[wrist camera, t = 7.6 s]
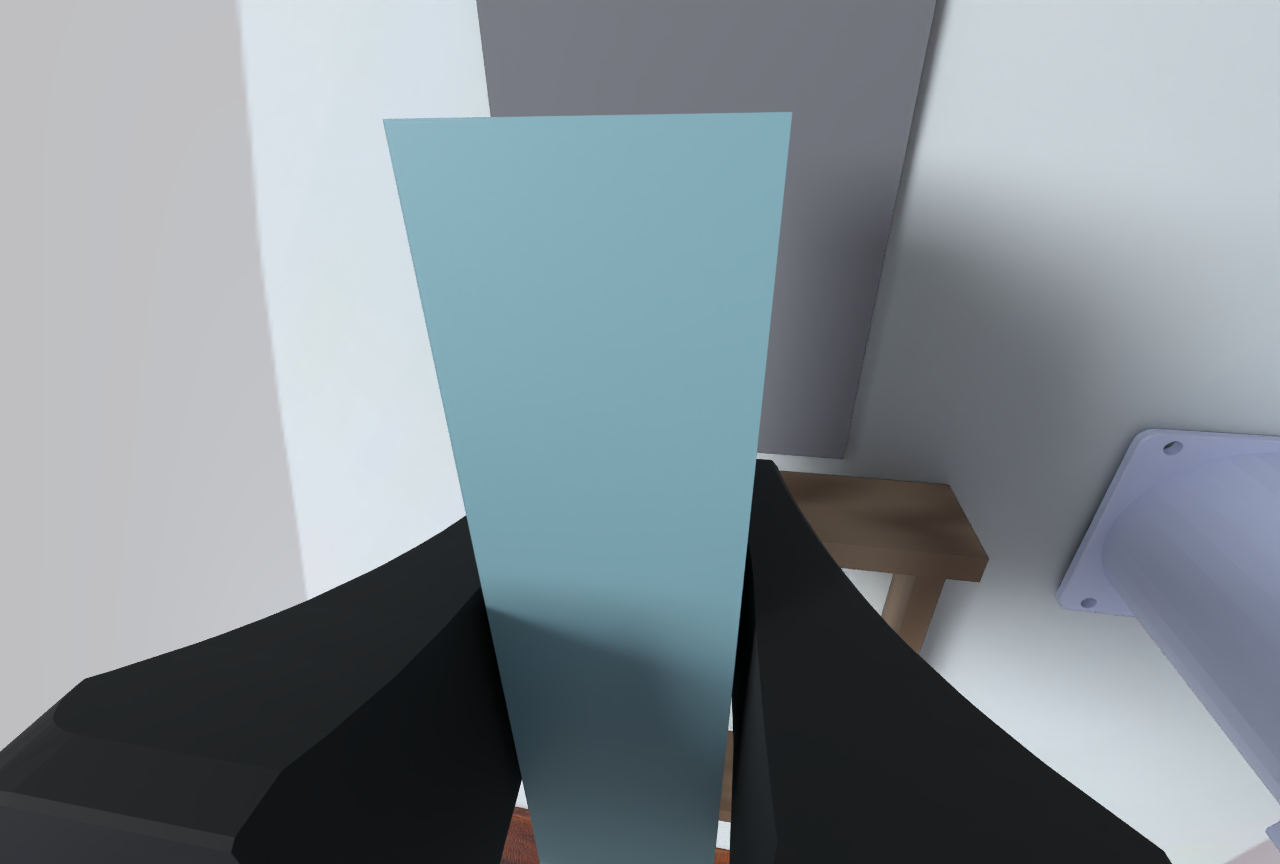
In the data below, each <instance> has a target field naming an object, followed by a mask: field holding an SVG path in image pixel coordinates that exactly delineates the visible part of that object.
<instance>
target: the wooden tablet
mask: <svg viewBox="0 0 1280 864" xmlns="http://www.w3.org/2000/svg"><path fill="white" fill-rule="evenodd" d="M729 858H730V850H725V849H720V848H716V849H715V859H714V864H729ZM500 864H540V861H539V856H538V852H537V847H536V842H535V838H534V833H533V828H532V823H531V819H530V814H529V810H528V809H523V808H519V807H514V811H513V815H512V819H511V823H510V826H509V830H508V834H507V838H506V842H505V846H504V850H503V854H502V858H501V862H500Z"/></svg>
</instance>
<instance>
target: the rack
mask: <svg viewBox="0 0 1280 864" xmlns="http://www.w3.org/2000/svg"><path fill="white" fill-rule="evenodd" d="M779 472H780V474H781V476H782V478H783V480H784V482H785V484H786V486H787V488H788V489H789V491H790V493H791V495H792V497H793V498H794V500H795V502H796V503H797V505H798V507H799V509H800V510H801V512H802V513H803V515H804V517H805V518H806V520H807V521H808V523H809V524H810V526H811V527H812V529H813V530H814V532H815V533H816V535H817V536H818V538H819V539H820V541H821V542H822V544H823V545H824V546H825V548H826V549H827V551H828V552H829V553H830V555H831V556H832V558H833V559H834V560H835V562H836V563H837V564H838V565H839V567H840V568H848V569H858V570H867V571H877V572H886V573H894V575H893V578H892V582H891V585H890V588H889V592H888V595H887V599H886V602H885V606H884V609H883V612H882V616H881V617H882V618H883V619H884V620H885V621H886V622H887V624H888V625H889V626H890V627H891V628H892V629H893V630H894V631H895V632H896V633H897V634H898V635H899V636H900V637H901V638H902V639H903V640H904V641H905V642H906V643H907V644H908V645H909V646H910V647H911V648H912V649H913V650H914V651H915V652H916V653H917V654H918V655H919V652H920V649H921V646H922V644H923V641H924V638H925V635H926V632H927V630H928V627H929V624H930V621H931V618H932V616H933V613H934V610H935V607H936V604H937V602H938V599H939V596H940V593H941V590H942V588H943V585H944V582H945V579H952V580H962V581H971V582H980V580H981V577H982V575H983V572H984V570H985V567H986V565H987V562H988V560H989V558H988V556H987V554H986V552H985V551H984V549H983V547H982V545H981V543H980V541H979V539H978V538H977V536H976V534H975V532H974V530H973V528H972V526H971V525H970V523H969V521H968V519H967V517H966V515H965V514H964V512H963V510H962V508H961V506H960V504H959V502H958V501H957V499H956V497H955V495H954V493H953V491H952V489H951V488H950V486H949V485H945V484H932V483H920V482H908V481H896V480H884V479H872V478H860V477H847V476H835V475H823V474H811V473H799V472H787V471H779ZM732 769H733V732H730V731H728V734H727V744H726V753H725V763H724V773H723V782H722V792H721V801H720V811H719V820H720V821H725V822H731V800H732Z"/></svg>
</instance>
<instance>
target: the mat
mask: <svg viewBox="0 0 1280 864" xmlns="http://www.w3.org/2000/svg"><path fill="white" fill-rule="evenodd" d="M476 1H477V10H478V18H479V26H480V34H481V42H482V50H483V58H484V66H485V74H486V82H487V90H488V98H489V106H490V114H491V117H531V116H589V115H646V114H704V113H761V112H792V120H791V130H790V139H789V149H788V158H787V168H786V177H785V187H784V197H783V206H782V216H781V225H780V235H779V245H778V254H777V264H776V273H775V283H774V293H773V302H772V312H771V321H770V331H769V341H768V350H767V360H766V369H765V379H764V389H763V398H762V408H761V417H760V427H759V437H758V446H757V452H758V453H771V454H784V455H796V456H809V457H822V458H835V459H843V458H844V453H845V448H846V443H847V438H848V433H849V428H850V423H851V418H852V413H853V408H854V403H855V399H856V394H857V389H858V384H859V379H860V374H861V369H862V364H863V359H864V354H865V349H866V344H867V340H868V335H869V330H870V325H871V320H872V315H873V310H874V305H875V300H876V295H877V290H878V285H879V281H880V276H881V271H882V266H883V261H884V256H885V251H886V246H887V241H888V236H889V231H890V226H891V222H892V217H893V212H894V207H895V202H896V197H897V192H898V187H899V182H900V177H901V172H902V167H903V163H904V158H905V153H906V148H907V143H908V138H909V133H910V128H911V123H912V118H913V113H914V108H915V104H916V99H917V94H918V89H919V84H920V79H921V74H922V69H923V64H924V59H925V54H926V49H927V45H928V40H929V35H930V30H931V25H932V20H933V15H934V10H935V5H936V0H476Z"/></svg>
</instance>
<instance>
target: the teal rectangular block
mask: <svg viewBox="0 0 1280 864" xmlns="http://www.w3.org/2000/svg"><path fill="white" fill-rule="evenodd" d="M791 120H792V112H761V113H704V114H646V115H589V116H531V117H473V118H416V119H383V123H384V128H385V133H386V137H387V142H388V147H389V152H390V156H391V161H392V166H393V171H394V175H395V180H396V185H397V189H398V194H399V199H400V204H401V208H402V213H403V218H404V223H405V227H406V232H407V237H408V241H409V246H410V251H411V256H412V260H413V265H414V270H415V275H416V279H417V284H418V289H419V294H420V298H421V303H422V308H423V312H424V317H425V322H426V327H427V331H428V336H429V341H430V346H431V350H432V355H433V360H434V364H435V369H436V374H437V379H438V383H439V388H440V393H441V398H442V402H443V407H444V412H445V417H446V421H447V426H448V431H449V435H450V440H451V445H452V450H453V454H454V459H455V464H456V469H457V473H458V478H459V483H460V487H461V492H462V497H463V502H464V506H465V511H466V516H467V521H468V525H469V530H470V535H471V539H472V544H473V549H474V554H475V558H476V563H477V568H478V573H479V577H480V582H481V587H482V592H483V596H484V601H485V606H486V610H487V615H488V620H489V625H490V629H491V634H492V639H493V644H494V648H495V653H496V658H497V662H498V667H499V672H500V677H501V681H502V686H503V691H504V696H505V700H506V705H507V710H508V715H509V719H510V724H511V729H512V733H513V738H514V743H515V748H516V752H517V757H518V762H519V767H520V771H521V776H522V781H523V785H524V790H525V795H526V800H527V804H528V809H529V814H530V819H531V823H532V828H533V833H534V838H535V842H536V847H537V852H538V856H539V861H540V864H714V859H715V849H716V840H717V830H718V821H719V811H720V801H721V792H722V782H723V773H724V763H725V753H726V744H727V734H728V725H729V715H730V705H731V696H732V686H733V677H734V667H735V657H736V648H737V638H738V629H739V619H740V609H741V600H742V590H743V581H744V571H745V561H746V552H747V542H748V533H749V523H750V513H751V504H752V494H753V485H754V475H755V465H756V456H757V446H758V437H759V427H760V417H761V408H762V398H763V389H764V379H765V369H766V360H767V350H768V341H769V331H770V321H771V312H772V302H773V293H774V283H775V273H776V264H777V254H778V245H779V235H780V225H781V216H782V206H783V197H784V187H785V177H786V168H787V158H788V149H789V139H790V130H791Z"/></svg>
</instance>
